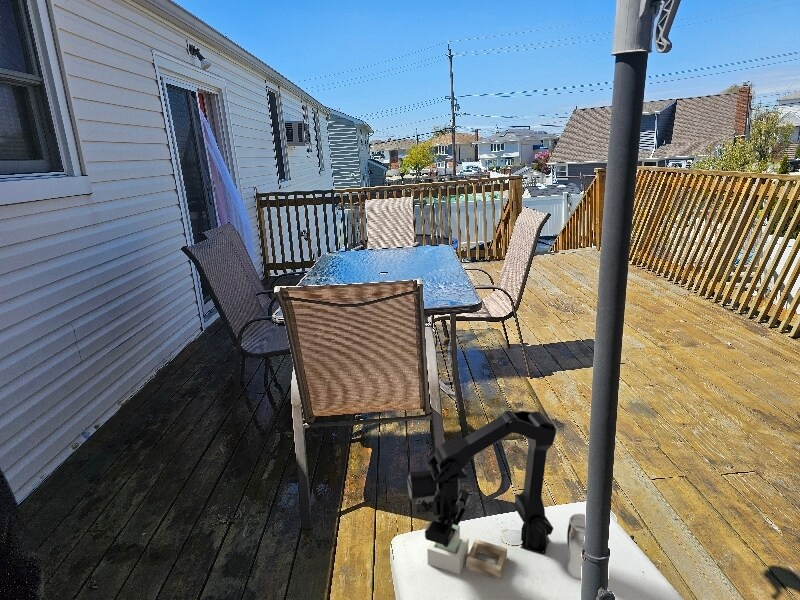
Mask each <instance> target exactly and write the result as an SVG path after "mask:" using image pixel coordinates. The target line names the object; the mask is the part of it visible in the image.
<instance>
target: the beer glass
mask: <svg viewBox="0 0 800 600" xmlns="http://www.w3.org/2000/svg"><path fill="white" fill-rule="evenodd" d="M585 515H586V514H583V513H574V514H572V515H571V516H570V517H569V519H568V526H567V531H566V533H567V534H566V542H567V549H568V550H567V551H568V559H567V562H566V565H565V566H566V567H565V569H566V572H567V573H568V574H569V575H570V576H571V577H573V578H575V579H578V580H582V579H581V566H582V557H581V553H582V544H583V542H584V536H585Z"/></svg>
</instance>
